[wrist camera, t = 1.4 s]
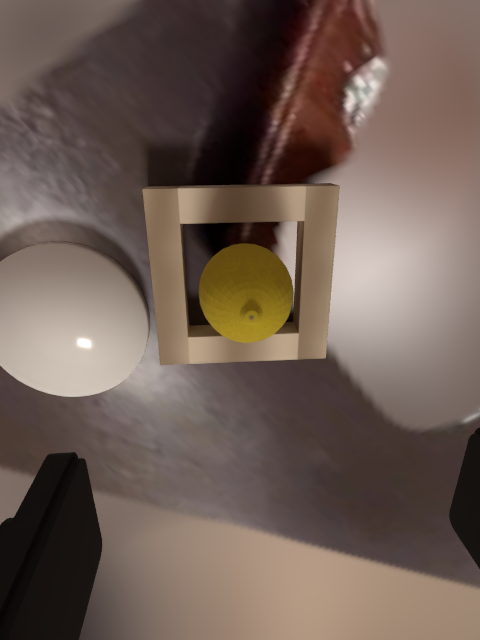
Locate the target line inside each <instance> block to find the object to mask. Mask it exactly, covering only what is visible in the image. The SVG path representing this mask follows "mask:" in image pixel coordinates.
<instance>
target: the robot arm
mask: <svg viewBox="0 0 480 640" xmlns="http://www.w3.org/2000/svg"><path fill="white" fill-rule="evenodd" d="M449 517H450V522H451V525H452V527H453V529H454V530H455V532H456V534H457V535H458V537H459V538H460V540H461V541H462V543H463V544H464V546H465V547H466V549H467V550H468V552H469V553H470V555H471V556H472V558H473V559H474V561H475V562H476V564H477V566H478V567H479V569H480V428H478V429H477V430H476V431H475V433H474V434H472V435H471V436H470V438H469V440H468V444H467V448H466V452H465V456H464V459H463V463H462V467H461V471H460V474H459V478H458V482H457V486H456V490H455V493H454V497H453V501H452V505H451V508H450V513H449ZM101 552H102V537H101V532H100V528H99V523H98V518H97V513H96V508H95V504H94V500H93V494H92V489H91V484H90V479H89V475H88V470H87V465H86V461H85V459H84V458H80V459H78V456H77V454H76V453H74V452H71V453H55V454H49V455H47V457H46V458H45V460H44V462H43V464H42V466H41V468H40V469H39V471H38V473H37V475H36V477H35V479H34V481H33V483H32V485H31V487H30V488H29V490H28V492H27V494H26V496H25V498H24V500H23V502H22V503H21V505H20V507H19V509H18V511H17V513H16V515H15V517H14V518H8V519H6V520H5V521H4V522H2V524H1V525H0V640H79V637H80V633H81V629H82V625H83V621H84V618H85V614H86V610H87V606H88V602H89V599H90V595H91V591H92V588H93V583H94V580H95V576H96V572H97V569H98V565H99V561H100V557H101Z"/></svg>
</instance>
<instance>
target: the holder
mask: <svg viewBox="0 0 480 640" xmlns="http://www.w3.org/2000/svg"><path fill="white" fill-rule="evenodd" d="M143 198H144V208H145V217H146V227H147V237H148V247H149V257H150V267H151V276H152V286H153V296H154V306H155V316H156V326H157V336H158V345H159V355H160V365H172V364H196V363H220V362H244V361H268V360H292V359H316V358H326V348H327V335H328V322H329V311H330V298H331V284H332V273H333V261H334V260H333V259H334V249H335V237H336V224H337V212H338V200H339V185H334V184H331V183H325V184H266V185H208V186H149V187H146V188H144V189H143ZM280 221H298V226H297V247H296V270H295V293H294V316H293V322H285V323H284V324H283V326H282V327H281V328H280V329H279V330H278V331H277V332H276V333H275V334H273V335H272V336H270V337H268V338H266V339H264V340H261V341H258V342H252V343H242V342H237V341H233V340H231V339H228V338H226V337H224V336H222V335H221V334H220V333H219V332H217V331H216V330H215V329H214V328H213V327H212V326H211V325H193V326H190V325H189V310H188V295H187V280H186V265H185V250H184V235H183V224H190V223H235V222H280Z"/></svg>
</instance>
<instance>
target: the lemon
mask: <svg viewBox="0 0 480 640" xmlns="http://www.w3.org/2000/svg"><path fill="white" fill-rule="evenodd" d="M199 299H200V305H201V308H202V310H203V313H204V315H205V317H206V319H207V320H208V322H209V323H210V324H211V326H212V327H213V328H214V329H215V330H216V331H217V332H219V333H220V334H221V335H222V336H224V337H226V338H228V339H231V340H233V341H237V342H242V343H252V342H258V341H261V340H264V339H266V338H268V337H270V336H272V335H273V334H275V333H276V332H277V331H278V330H279V329H280V328H281V327H282V326H283V324H284V323H285V322H286V320H287V319H288V316H289V313H290V311H291V308H292V303H293V286H292V280H291V277H290V275H289V272H288V270H287V268H286V266H285V265H284V264H283V262H282V261H281V260H280V259H279V258H278V256H277V255H275V254H274V253H272V252H271V251H270V250H268V249H267V248H264V247H261V246H259V245H256V244H247V243H242V244H235V245H231V246H229V247H227V248H224V249H222V250H221V251H220V252H218V253H217V254H216V255H214V256H213V257H212V258H211V260H210V261H209V262H208V263H207V265H206V266H205V268H204V271H203V273H202V275H201V278H200V285H199Z"/></svg>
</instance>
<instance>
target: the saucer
mask: <svg viewBox="0 0 480 640" xmlns="http://www.w3.org/2000/svg"><path fill="white" fill-rule="evenodd" d="M149 331H150V316H149V311H148V306H147V303H146V300H145V298H144V295H143V293H142V291H141V289H140V288H139V286H138V285H137V283H136V281H135V280H134V279H133V278H132V276H131V275H130V274H129V273H128V272H127V271H126V270H125V269H124V268H123V267H122V266H121V265H120V264H119V263H117V262H116V261H115V260H113V259H112V258H110V257H109V256H107V255H105V254H104V253H102V252H100V251H98V250H95V249H93V248H91V247H88V246H84V245H81V244H77V243H71V242H60V241H53V242H43V243H38V244H34V245H31V246H28V247H26V248H23V249H21V250H19V251H17V252H15V253H13V254H11V255H9V256H8V257H6V258H4V259H3V260H2V261H0V366H1V367H2V368H4V369H5V370H6V371H7V372H8V373H9V374H10V375H12V376H13V377H15V378H16V379H17V380H19V381H21V382H22V383H24V384H26V385H28V386H30V387H32V388H34V389H37V390H39V391H42V392H46V393H49V394H54V395H59V396H68V397H79V396H88V395H93V394H98V393H101V392H103V391H106V390H108V389H111V388H113V387H115V386H116V385H118V384H119V383H121V382H122V381H124V380H125V379H126V378H127V377H128V376H129V375H130V374H131V373H132V372H133V371H134V369H135V368H136V367H137V365H138V364H139V362H140V360H141V358H142V356H143V353H144V351H145V348H146V345H147V342H148V338H149Z"/></svg>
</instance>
